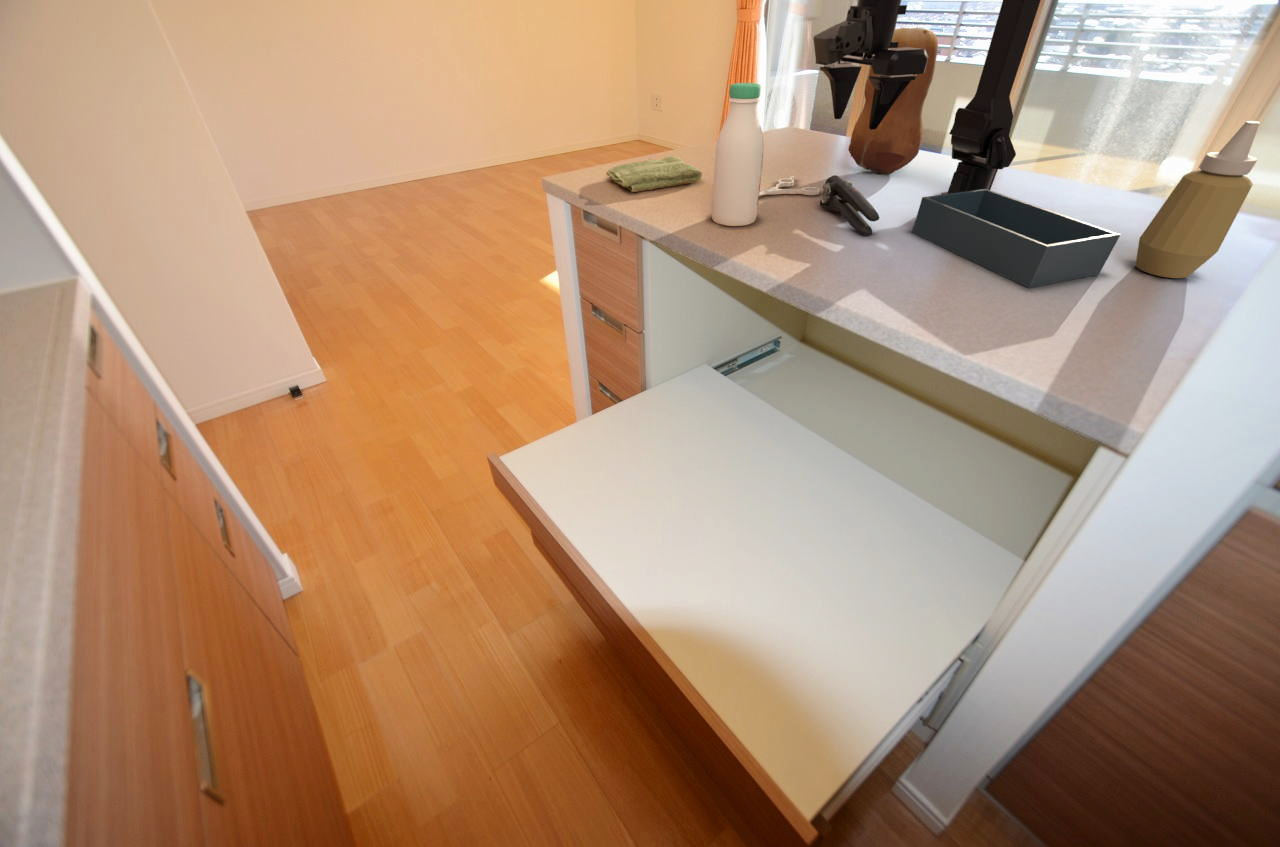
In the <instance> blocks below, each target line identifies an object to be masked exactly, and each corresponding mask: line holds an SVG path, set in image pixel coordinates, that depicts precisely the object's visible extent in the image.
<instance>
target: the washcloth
mask: <svg viewBox="0 0 1280 847" xmlns="http://www.w3.org/2000/svg"><path fill="white" fill-rule="evenodd" d="M606 176H609V179H610V180H613V182H614V183H616V184H618V185H620V186H621V187H623V188H626V189H627V190H629V191H630V192H631V193H639V192H643V191H653V190H654V189H657V190H658V189H664V188H669V187H675V186H681V185H687V184H689V185H690V184H692V183H697V182H698V181H700V180H701V179H702V177H703V172H702V170H701V169H698V168H697V167H695V166H693V165H692V164H689V163H687V162H685V160H684V159H682V158H680V157H678V156H676V155H670V156H666V157H663V158H659V159H648V160H643V161H636V162H635V161H634V162H631V163H630V162H627V163H625V164H620V165H615V166H613V167H611V168H610V169H608V170H607V171H606Z"/></svg>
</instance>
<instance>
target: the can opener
mask: <svg viewBox="0 0 1280 847" xmlns="http://www.w3.org/2000/svg"><path fill="white" fill-rule="evenodd" d="M821 191H822V196H821V199H820V200H819V206H820V207H821V208H822V209H824V210H826V211H829V212H839V213H840V214H841V215H842V216H843V218H844V219H845V221H846V222H847V223H848V224H849V225H850V226H851V227H852V228H853V229H854V230H855V231H856V232H858V233H859V234H861V235H862V236H866V237H868V236H871V235H873V229H872V228H871V226H870V225H869V223H868V222H867V221H866V220H868V221H869V222H877V221H879V220H880V215H879V213H878V212H877V210H876V209H875V207H874V206H873V205H872V203H871V202H869V201H868V199H867V198H866V197H865V196H864V195H863V194H862V193H861V192H860V191H859V190H858V189H856V188H855V187H853V182H852V181H850V180H847V181H846V180H844V179H843V178H842V177H840V176H838V175H831V176H829V177H828V178H827V179H826V180H825V182H824V183H823V184H822V189H821ZM859 213H860V214H861V215H863V216H864V217H865V219H866V220H865V219H864V218H863V217H862V216H861V215H860V214H859Z"/></svg>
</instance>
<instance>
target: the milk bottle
mask: <svg viewBox="0 0 1280 847" xmlns="http://www.w3.org/2000/svg"><path fill="white" fill-rule="evenodd" d="M728 94H729V95H728V96H729V99H728V101H729V109H728V113H727V116H726V118H725V120H724V123H723V125H722V128H721V130H720V132H719V134H718V137H717V141H716V146H715V154H714V155H715V156H714V169H713V183H712V195H711V196H712V198H711V214H710V215H711V219H712V221H713V222H714V223H715V224H718V225H721V226H727V227H728V226H729V227H742V226H748V225H751V224H753V223H754V222H755V221H756V219H757V215H758V207H759V200H760V199H759V198H760V196H759V191H760V190H761V182H762V172H763V163H764V150H765V140H764V134H763V129H762V126H761V123H760V119H759V115H758V103H759V102H760V96H761V85H760V84H759V83H755V82H737V83H731V84H730V86H729V92H728Z"/></svg>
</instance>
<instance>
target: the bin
mask: <svg viewBox="0 0 1280 847" xmlns="http://www.w3.org/2000/svg"><path fill="white" fill-rule="evenodd" d="M911 233H912V234H914V235H916V236H918V237H920V238H922V239H925V240H926V241H928V242H930V243H933V244H935V245H936V246H939V247H941V248H943V249H945V250H946V251H947V250H948V251H949V252H952V253H953V254H956V255H958V256H960V257H962V258H964V259H965V260H968V261H970V262H972V263H974V264H976V265H979V266H981V267H983V268H985V269H987V270H989V271H991V272H993V273H995V274H997V275H999V276H1002V277H1004V278H1006V279H1008V280H1010V281H1013V283H1016V284H1018V285H1021V286H1023V287H1025V288H1027V289H1032V288H1036V287H1037V288H1038V287H1041V286H1047V285H1052V284H1057V283H1062V282H1068V281H1069V282H1070V281H1073V280H1078V279H1084V278H1090V277H1094V276H1099V275H1100V274H1101V272H1102V270H1103V268H1104V266H1105V264H1106V262H1107V261H1108V259H1109V257H1110V255H1111V253H1112V252H1113V250H1114V248H1115V246H1116V244H1117V243H1118V241H1119V239H1120V237H1121V234H1120V233H1117V232H1115V231H1112V230H1109V229H1107V228H1102V227H1101V226H1097V225H1094V224H1091V223H1088V222H1086V221H1082V220H1079V219H1076V218H1074V217H1070V216H1068V215H1065V214H1061V213H1058V212H1055V211H1053V210H1050V209H1047V208H1044V207H1041V206H1037V205H1035V204H1032V203H1029V202H1025V201H1023V200H1020V199H1018V198H1014V197H1011V196H1008V195H1005V194H1004V193H1003V194H1002V193H999V192H997V191H993V190H991V189H990V190H988V189H980V190H973V191H965V192H958V193H950V194H943V195H941V194H935V195H928V196H922V197H921V200H920V204H919V207H918V211H917V214H916V217H915V221H914V224H913V227H912V231H911Z"/></svg>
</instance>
